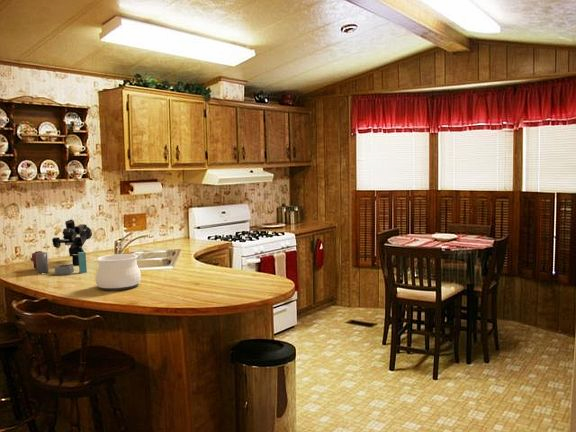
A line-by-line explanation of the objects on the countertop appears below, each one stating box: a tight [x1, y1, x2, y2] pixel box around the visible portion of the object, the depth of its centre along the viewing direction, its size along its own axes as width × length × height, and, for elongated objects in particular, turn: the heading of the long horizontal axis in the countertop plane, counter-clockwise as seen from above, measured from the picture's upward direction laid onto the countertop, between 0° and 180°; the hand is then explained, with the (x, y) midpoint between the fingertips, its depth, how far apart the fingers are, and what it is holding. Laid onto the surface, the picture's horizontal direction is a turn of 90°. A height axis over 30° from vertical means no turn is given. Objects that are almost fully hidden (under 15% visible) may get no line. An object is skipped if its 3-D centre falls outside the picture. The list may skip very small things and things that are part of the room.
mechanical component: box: [30, 250, 43, 271], centre depth 353 cm, size 12×10×10 cm
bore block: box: [54, 263, 75, 276], centre depth 338 cm, size 9×9×5 cm
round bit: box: [36, 251, 49, 275], centre depth 341 cm, size 7×7×13 cm
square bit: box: [78, 251, 88, 274], centre depth 341 cm, size 4×4×13 cm
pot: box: [92, 252, 142, 292], centre depth 296 cm, size 28×24×17 cm
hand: (64, 247), depth 343 cm, fingers open, 9 cm apart
